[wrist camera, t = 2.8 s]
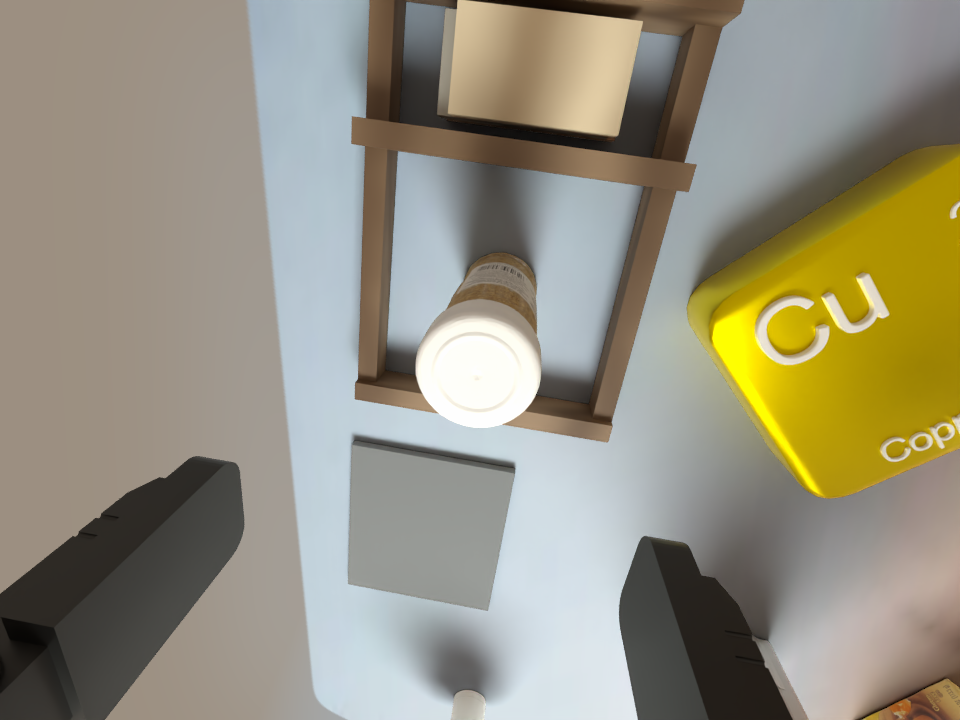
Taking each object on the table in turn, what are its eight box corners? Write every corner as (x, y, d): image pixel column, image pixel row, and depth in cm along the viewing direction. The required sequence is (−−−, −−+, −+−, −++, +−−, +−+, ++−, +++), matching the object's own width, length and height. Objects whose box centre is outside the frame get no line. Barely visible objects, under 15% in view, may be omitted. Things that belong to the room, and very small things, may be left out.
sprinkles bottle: (452, 301, 29) (392, 396, 17) (485, 236, 27) (446, 288, 15) (515, 335, 29) (502, 452, 17) (552, 273, 28) (567, 353, 15)
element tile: (782, 470, 31) (823, 518, 27) (671, 297, 28) (697, 320, 24) (1035, 351, 27) (1134, 386, 22) (940, 128, 23) (1035, 117, 19)
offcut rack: (714, 10, 22) (750, -23, 18) (602, 422, 31) (611, 456, 27) (384, -31, 23) (355, -71, 19) (367, 382, 32) (346, 410, 28)
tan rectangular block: (630, 47, 23) (650, 21, 19) (610, 142, 25) (624, 136, 21) (454, 26, 24) (439, -3, 20) (446, 121, 25) (430, 111, 22)
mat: (515, 468, 33) (514, 473, 33) (488, 604, 39) (487, 610, 38) (354, 440, 34) (351, 444, 33) (350, 578, 39) (348, 584, 39)
